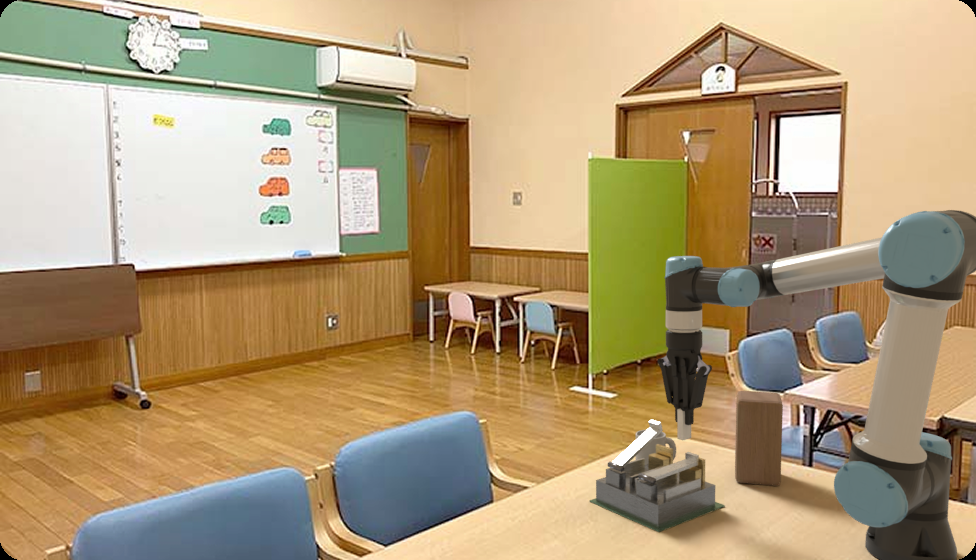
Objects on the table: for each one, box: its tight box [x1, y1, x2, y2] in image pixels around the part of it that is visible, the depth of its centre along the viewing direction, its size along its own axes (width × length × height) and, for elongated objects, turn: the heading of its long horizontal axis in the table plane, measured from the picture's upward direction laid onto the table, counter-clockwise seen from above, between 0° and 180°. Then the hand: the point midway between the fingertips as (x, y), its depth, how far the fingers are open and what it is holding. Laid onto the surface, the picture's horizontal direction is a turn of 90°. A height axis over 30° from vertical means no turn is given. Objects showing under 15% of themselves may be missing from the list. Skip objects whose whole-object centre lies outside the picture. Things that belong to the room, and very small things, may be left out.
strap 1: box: [638, 451, 700, 484], centre depth 168 cm, size 4×15×2 cm, turn 126°
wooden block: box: [734, 390, 784, 487], centre depth 187 cm, size 10×10×20 cm
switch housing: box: [589, 444, 726, 533], centre depth 172 cm, size 20×21×10 cm
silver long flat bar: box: [607, 419, 664, 472], centre depth 174 cm, size 4×15×2 cm, turn 126°
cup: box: [635, 429, 677, 465], centre depth 194 cm, size 7×10×9 cm
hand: (684, 438), depth 169 cm, fingers closed
